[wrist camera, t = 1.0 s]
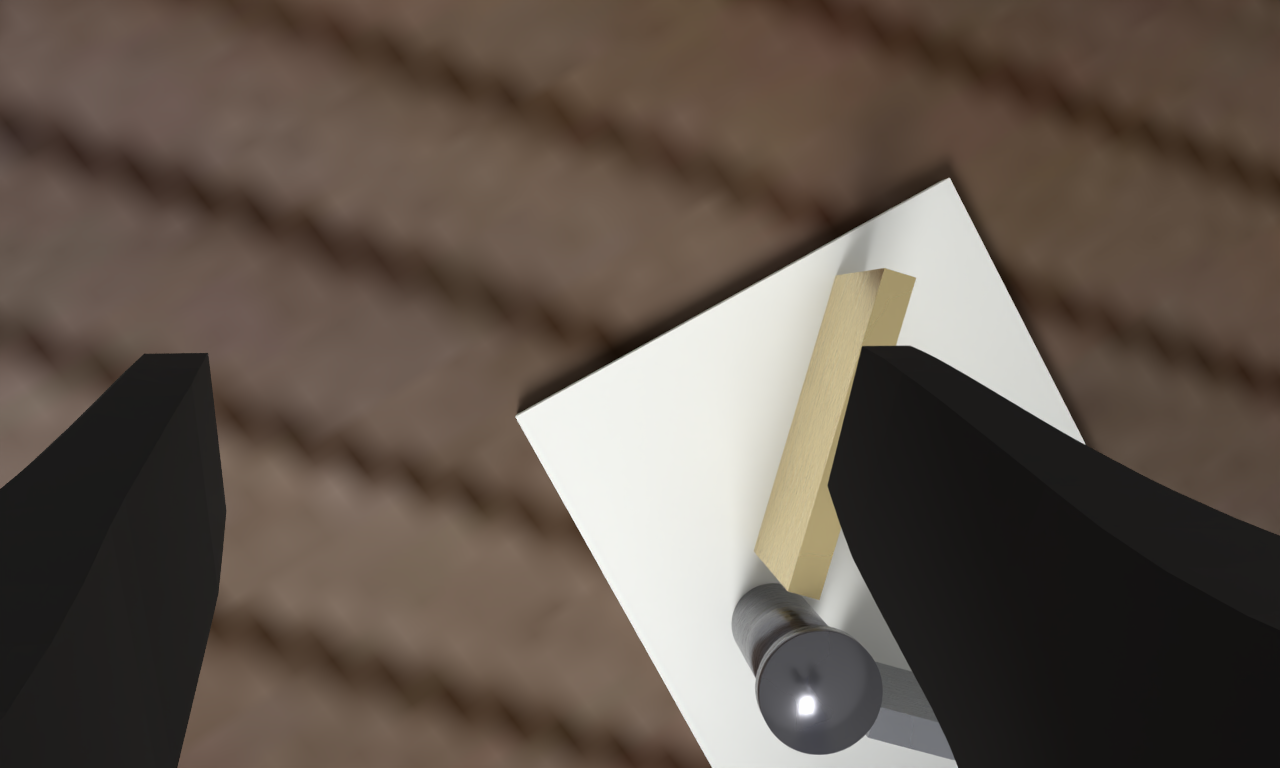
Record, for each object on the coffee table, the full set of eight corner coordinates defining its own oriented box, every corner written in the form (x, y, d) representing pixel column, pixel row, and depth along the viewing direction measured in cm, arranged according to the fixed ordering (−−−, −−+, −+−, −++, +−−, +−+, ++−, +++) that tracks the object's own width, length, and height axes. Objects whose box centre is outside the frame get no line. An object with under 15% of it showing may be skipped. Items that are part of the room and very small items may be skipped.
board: (1202, 693, 29) (1216, 701, 28) (801, 924, 28) (807, 937, 28) (940, 180, 27) (950, 177, 27) (516, 414, 27) (515, 416, 26)
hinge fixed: (1083, 746, 28) (1201, 842, 23) (710, 661, 27) (745, 740, 22) (1109, 651, 28) (1234, 726, 23) (735, 562, 27) (777, 619, 22)
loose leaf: (780, 558, 27) (819, 599, 23) (753, 550, 27) (787, 591, 23) (862, 283, 27) (916, 277, 23) (835, 275, 27) (885, 268, 23)
